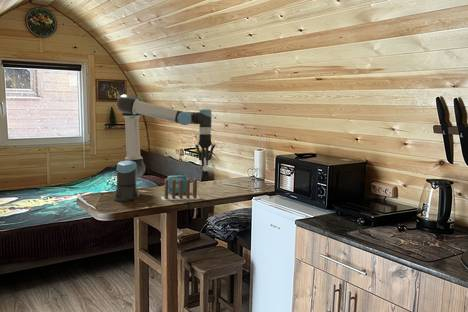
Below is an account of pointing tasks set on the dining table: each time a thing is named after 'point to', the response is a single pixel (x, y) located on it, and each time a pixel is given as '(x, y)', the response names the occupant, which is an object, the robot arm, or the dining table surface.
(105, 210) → the dining table surface
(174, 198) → the domino
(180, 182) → the domino
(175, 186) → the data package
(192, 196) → the board
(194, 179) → the domino
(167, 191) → the domino
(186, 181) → the domino
